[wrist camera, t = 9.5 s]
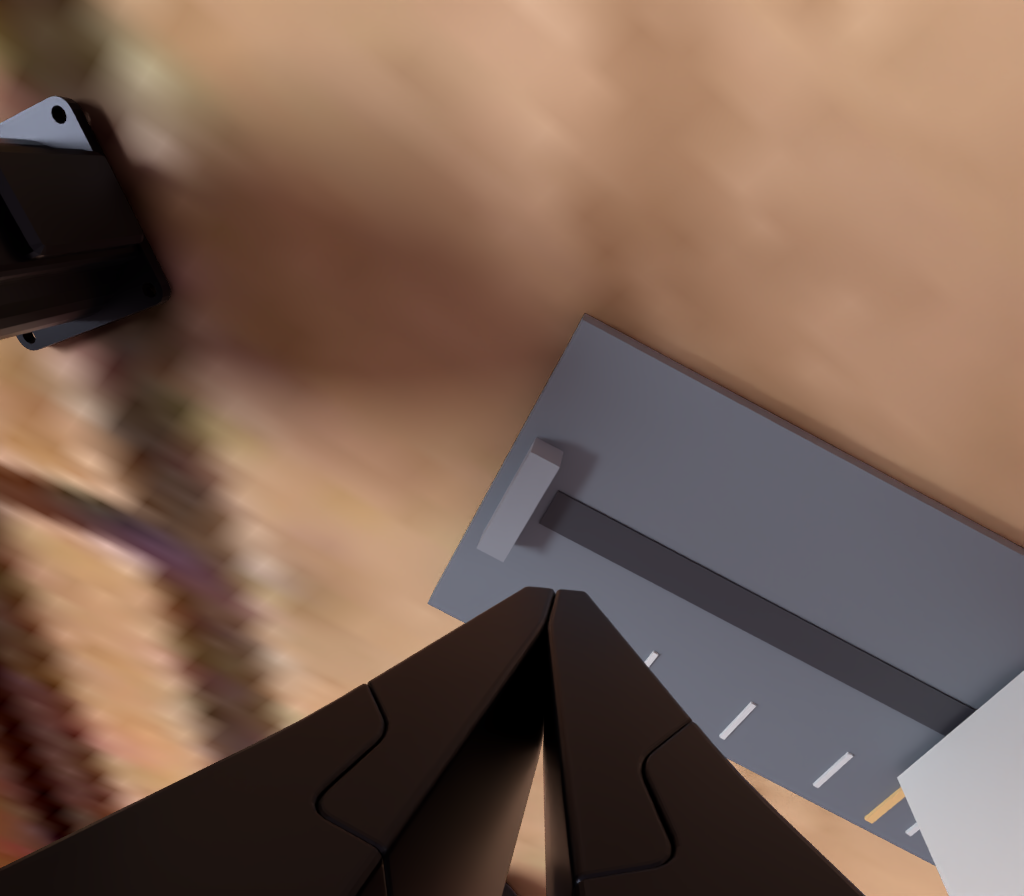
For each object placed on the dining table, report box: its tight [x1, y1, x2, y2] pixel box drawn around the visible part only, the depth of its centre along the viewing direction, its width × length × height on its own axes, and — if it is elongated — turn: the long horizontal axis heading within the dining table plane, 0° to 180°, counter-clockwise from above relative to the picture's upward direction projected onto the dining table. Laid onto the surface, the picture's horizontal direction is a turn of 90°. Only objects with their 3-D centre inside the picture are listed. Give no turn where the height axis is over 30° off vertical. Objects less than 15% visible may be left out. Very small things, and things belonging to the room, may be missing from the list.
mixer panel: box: [428, 313, 1024, 866], centre depth 22 cm, size 24×12×2 cm, turn 63°
